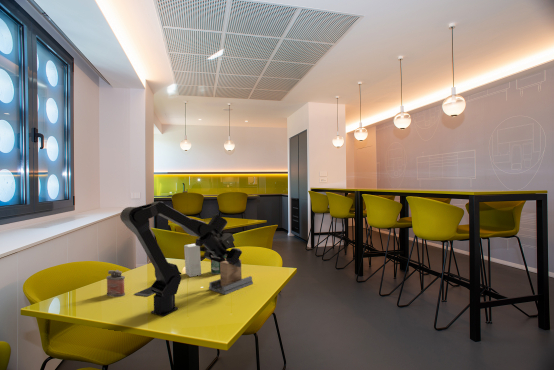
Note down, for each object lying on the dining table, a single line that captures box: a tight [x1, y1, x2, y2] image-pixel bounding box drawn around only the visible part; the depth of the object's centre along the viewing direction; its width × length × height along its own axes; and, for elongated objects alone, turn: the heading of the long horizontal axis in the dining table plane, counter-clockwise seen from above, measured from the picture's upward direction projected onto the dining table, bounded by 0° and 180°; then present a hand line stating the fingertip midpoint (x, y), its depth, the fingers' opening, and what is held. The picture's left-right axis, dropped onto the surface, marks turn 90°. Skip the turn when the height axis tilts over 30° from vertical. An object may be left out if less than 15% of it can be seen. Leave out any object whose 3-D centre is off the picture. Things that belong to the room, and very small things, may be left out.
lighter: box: [106, 269, 126, 298], centre depth 117 cm, size 8×3×10 cm, turn 74°
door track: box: [208, 275, 254, 296], centre depth 123 cm, size 16×10×3 cm, turn 141°
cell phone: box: [133, 286, 155, 298], centre depth 121 cm, size 7×14×1 cm, turn 159°
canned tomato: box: [210, 256, 227, 275], centre depth 146 cm, size 8×8×11 cm
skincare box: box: [183, 243, 202, 278], centre depth 143 cm, size 8×6×15 cm
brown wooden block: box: [219, 258, 243, 286], centre depth 123 cm, size 8×4×10 cm, turn 141°
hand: (233, 264), depth 124 cm, fingers open, 9 cm apart
